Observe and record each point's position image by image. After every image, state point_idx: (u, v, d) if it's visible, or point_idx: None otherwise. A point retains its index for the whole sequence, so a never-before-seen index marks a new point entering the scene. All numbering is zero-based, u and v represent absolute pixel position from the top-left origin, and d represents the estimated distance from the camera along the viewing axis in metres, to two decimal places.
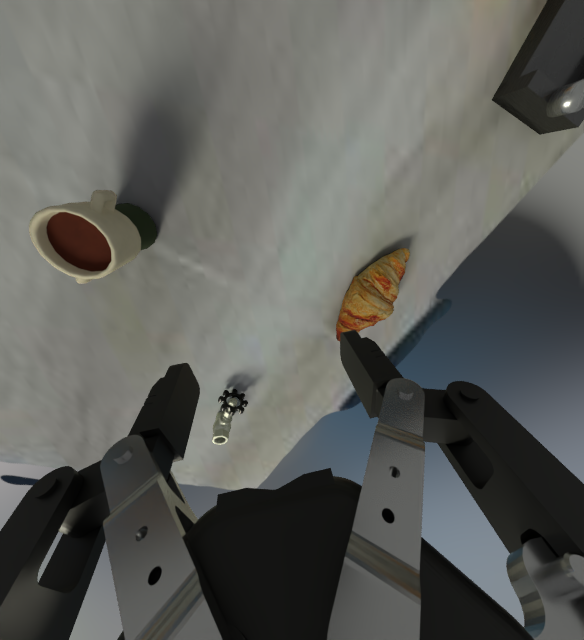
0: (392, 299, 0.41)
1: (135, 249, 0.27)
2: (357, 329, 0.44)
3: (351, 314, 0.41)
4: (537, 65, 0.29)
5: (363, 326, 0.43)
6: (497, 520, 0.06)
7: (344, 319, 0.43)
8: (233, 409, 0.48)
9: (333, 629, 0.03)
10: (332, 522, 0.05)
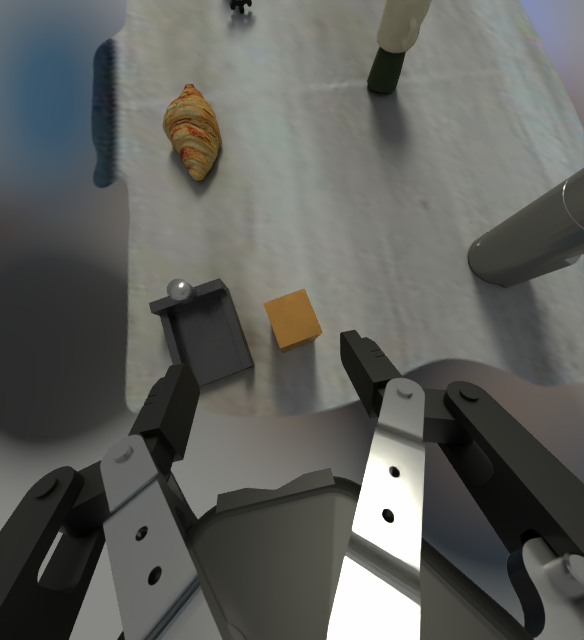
0: (175, 127, 0.40)
1: (381, 29, 0.39)
2: None
3: None
4: (218, 315, 0.36)
5: (181, 95, 0.41)
6: (497, 520, 0.06)
7: (203, 97, 0.42)
8: None
9: (333, 629, 0.03)
10: (332, 522, 0.05)
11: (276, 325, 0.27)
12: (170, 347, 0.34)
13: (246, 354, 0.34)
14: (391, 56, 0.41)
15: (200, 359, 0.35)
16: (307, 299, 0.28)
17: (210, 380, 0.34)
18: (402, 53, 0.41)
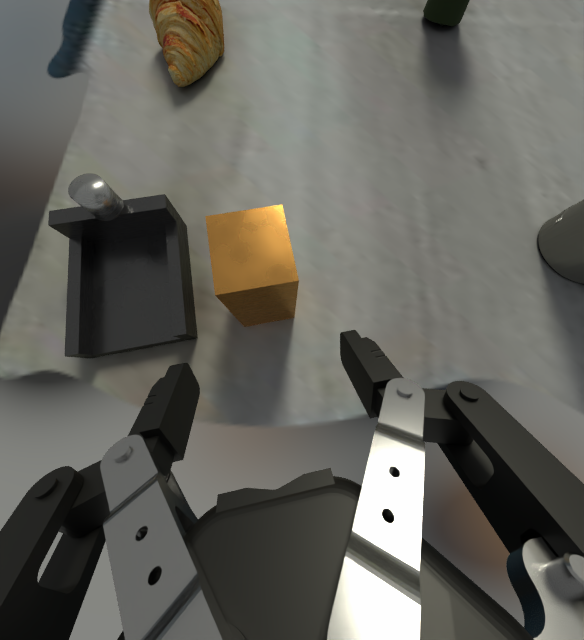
0: (162, 5, 0.29)
1: None
2: None
3: None
4: (159, 255, 0.24)
5: None
6: (497, 520, 0.06)
7: None
8: None
9: (333, 629, 0.03)
10: (332, 522, 0.05)
11: (217, 255, 0.15)
12: (70, 284, 0.22)
13: (182, 315, 0.21)
14: None
15: (115, 313, 0.23)
16: (283, 222, 0.16)
17: (122, 347, 0.22)
18: None
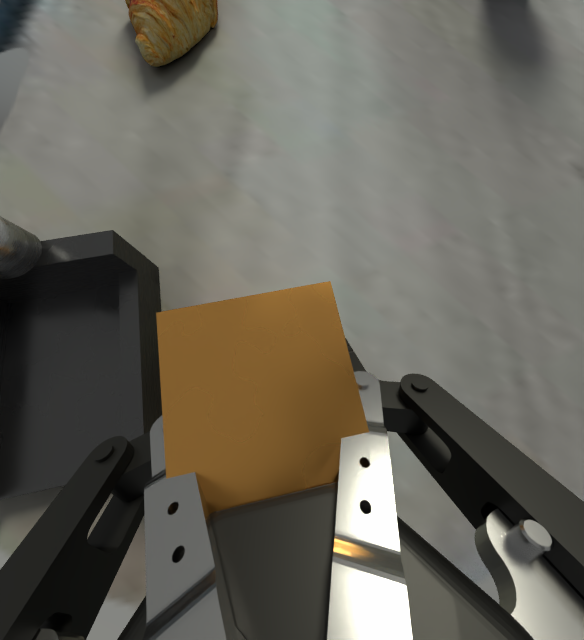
0: None
1: None
2: None
3: None
4: (112, 321, 0.16)
5: None
6: (460, 499, 0.07)
7: None
8: None
9: (333, 629, 0.03)
10: (332, 522, 0.05)
11: (181, 420, 0.06)
12: None
13: None
14: None
15: (35, 422, 0.14)
16: (337, 326, 0.07)
17: (41, 486, 0.13)
18: None
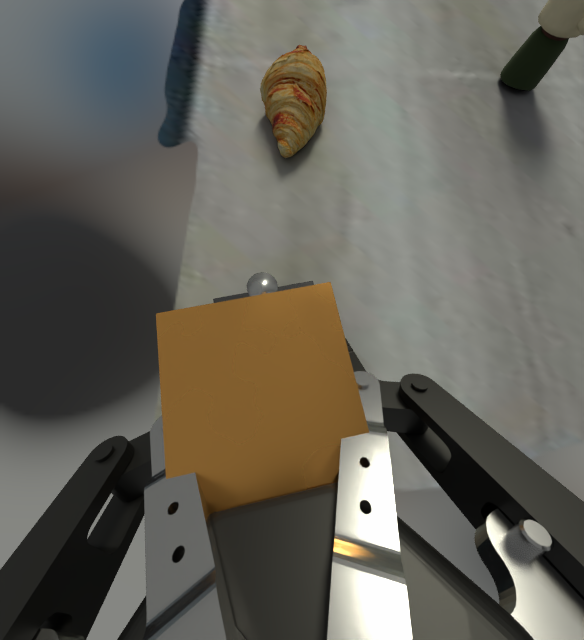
0: (278, 86, 0.31)
1: (552, 5, 0.31)
2: None
3: None
4: None
5: None
6: (460, 499, 0.07)
7: None
8: None
9: (333, 629, 0.03)
10: (332, 522, 0.05)
11: (181, 421, 0.06)
12: None
13: None
14: (551, 43, 0.33)
15: None
16: (337, 327, 0.07)
17: None
18: (565, 41, 0.33)
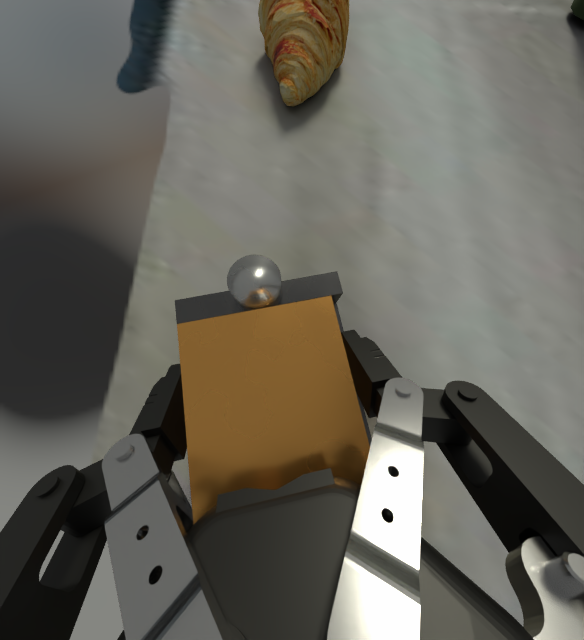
0: (282, 1, 0.22)
1: None
2: None
3: None
4: None
5: None
6: (496, 519, 0.06)
7: None
8: None
9: (333, 629, 0.03)
10: (332, 522, 0.05)
11: (201, 418, 0.07)
12: None
13: None
14: None
15: None
16: (337, 336, 0.08)
17: None
18: None
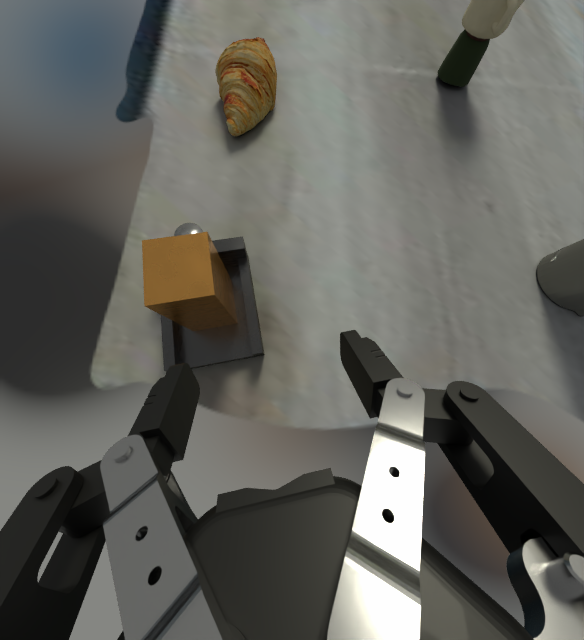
0: (228, 69, 0.34)
1: (470, 8, 0.35)
2: None
3: None
4: None
5: None
6: (497, 520, 0.06)
7: None
8: None
9: (333, 629, 0.03)
10: (332, 522, 0.05)
11: (149, 273, 0.18)
12: None
13: (258, 337, 0.26)
14: (474, 43, 0.37)
15: (197, 333, 0.27)
16: (207, 246, 0.19)
17: (205, 362, 0.26)
18: (486, 42, 0.37)
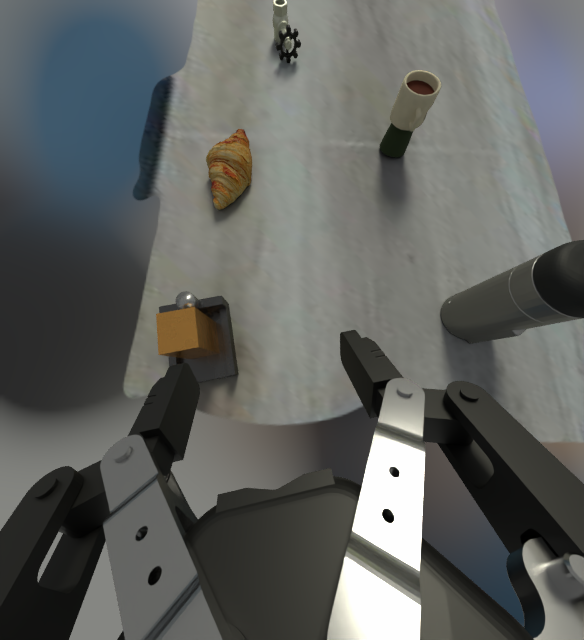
0: (214, 163, 0.47)
1: (393, 110, 0.46)
2: (232, 138, 0.49)
3: None
4: None
5: (229, 138, 0.48)
6: (497, 520, 0.06)
7: (247, 144, 0.49)
8: (288, 32, 0.55)
9: (333, 629, 0.03)
10: (332, 522, 0.05)
11: (161, 334, 0.31)
12: None
13: (232, 363, 0.39)
14: (400, 131, 0.48)
15: (192, 361, 0.40)
16: (194, 316, 0.32)
17: (198, 380, 0.40)
18: None
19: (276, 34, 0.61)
